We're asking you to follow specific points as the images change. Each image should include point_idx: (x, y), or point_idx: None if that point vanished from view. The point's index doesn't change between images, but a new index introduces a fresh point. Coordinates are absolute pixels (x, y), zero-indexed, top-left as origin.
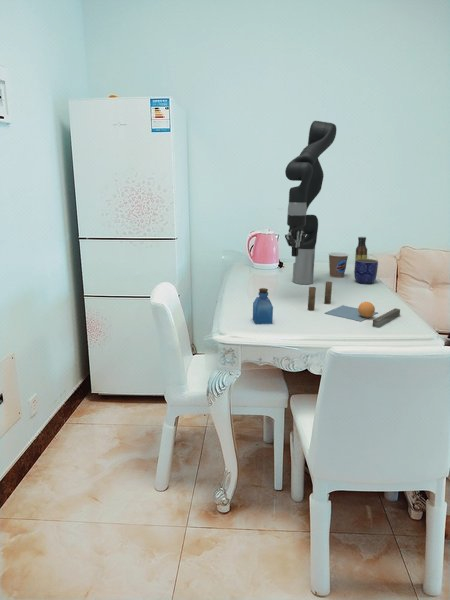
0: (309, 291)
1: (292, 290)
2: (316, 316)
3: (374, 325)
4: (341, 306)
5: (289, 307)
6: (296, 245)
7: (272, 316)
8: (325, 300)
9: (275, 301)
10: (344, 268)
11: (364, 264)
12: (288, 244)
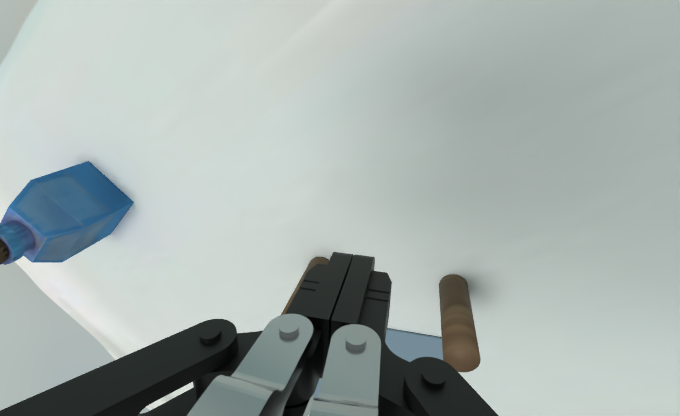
0: (283, 310)
1: (646, 12)
2: (266, 306)
3: None
4: (432, 340)
5: (288, 192)
6: (285, 406)
7: (90, 245)
8: (441, 290)
9: (325, 90)
10: None
11: None
12: (178, 338)
